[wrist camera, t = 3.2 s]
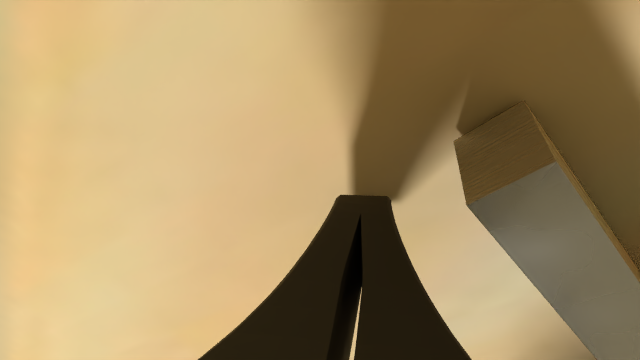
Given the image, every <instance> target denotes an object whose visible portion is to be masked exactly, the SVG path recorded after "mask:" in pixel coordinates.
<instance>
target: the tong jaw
mask: <svg viewBox="0 0 640 360" xmlns="http://www.w3.org/2000/svg"><path fill="white" fill-rule="evenodd" d="M454 145H455V150H456V155H457V160H458V165H459V170H460V175H461V180H462V185H463V190H464V195H465V200H466V205H467V206H468V208H469V209H470V210H471V211H472V212H473V214H474V215H475V216H476V217H477V218H478V219H479V221H480V222H481V223H482V224H483V225H484V227H485V228H486V229H487V230H488V231H489V232H490V234H491V235H492V236H493V237H494V238H495V240H496V241H497V242H498V243H499V244H500V245H501V247H502V248H503V249H504V250H505V251H506V253H507V254H508V255H509V256H510V257H511V259H512V260H513V261H514V262H515V263H516V264H517V266H518V267H519V268H520V269H521V270H522V272H523V273H524V274H525V275H526V276H527V277H528V279H529V280H530V281H531V282H532V283H533V285H534V286H535V287H536V288H537V289H538V290H539V292H540V293H541V294H542V295H543V296H544V298H545V299H546V300H547V301H548V302H549V303H550V305H551V306H552V307H553V308H554V309H555V311H556V312H557V313H558V314H559V315H560V316H561V318H562V319H563V320H564V321H565V322H566V324H567V325H568V326H569V327H570V328H571V329H572V331H573V332H574V333H575V334H576V335H577V337H578V338H579V339H580V340H581V341H582V343H583V344H584V345H585V346H586V347H587V348H588V350H589V351H590V352H591V353H592V354H593V356H594V357H595V358H596V359H597V360H640V272H639V270H638V269H637V267H636V266H635V264H634V263H633V261H632V260H631V258H630V257H629V255H628V254H627V252H626V251H625V249H624V248H623V247H622V245H621V244H620V242H619V241H618V239H617V238H616V236H615V235H614V233H613V232H612V230H611V229H610V227H609V226H608V224H607V223H606V221H605V220H604V218H603V217H602V215H601V214H600V212H599V211H598V209H597V208H596V206H595V205H594V203H593V202H592V200H591V199H590V198H589V196H588V195H587V193H586V192H585V190H584V189H583V187H582V186H581V184H580V183H579V181H578V180H577V178H576V177H575V175H574V174H573V172H572V171H571V169H570V168H569V166H568V165H567V163H566V162H565V160H564V159H563V157H562V156H561V154H560V153H559V152H558V150H557V149H556V147H555V146H554V144H553V143H552V141H551V140H550V138H549V137H548V135H547V134H546V132H545V131H544V129H543V128H542V126H541V125H540V123H539V122H538V120H537V119H536V117H535V116H534V114H533V113H532V111H531V110H530V108H529V107H528V105H527V104H526V103H525V101H524V100H523V101H522V102H520V103H518V104H517V105H515V106H513V107H511V108H510V109H508V110H506V111H505V112H503V113H501V114H499V115H498V116H496V117H494V118H493V119H491V120H489V121H487V122H486V123H484V124H482V125H481V126H479V127H477V128H475V129H474V130H472V131H470V132H469V133H467V134H465V135H463V136H462V137H460V138H458V139H456V140H455V141H454Z"/></svg>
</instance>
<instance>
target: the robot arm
mask: <svg viewBox="0 0 640 360" xmlns="http://www.w3.org/2000/svg"><path fill="white" fill-rule="evenodd" d="M361 288H362V294H361ZM360 294H361V303H360V313H359V322H358V331H357V340H356V348H355V356H354V360H472V359H471V358H470V357H469V355H468V354H467V353H466V351H465V350H464V349H463V347H462V346H461V345H460V343H459V342H458V341H457V339H456V338H455V337H454V335H453V334H452V332H451V331H450V329H449V328H448V326H447V325H446V323H445V322H444V320H443V319H442V317H441V316H440V314H439V312H438V311H437V309H436V308H435V306H434V304H433V303H432V301H431V299H430V298H429V296H428V294H427V292H426V291H425V289H424V287H423V285H422V283H421V281H420V279H419V277H418V275H417V273H416V271H415V269H414V267H413V265H412V263H411V261H410V259H409V257H408V254H407V252H406V249H405V247H404V245H403V242H402V240H401V237H400V235H399V232H398V229H397V226H396V223H395V219H394V215H393V211H392V206H391V200H390V199H389V198H388V197H387V196H360V195H340V196H339V197H337V198H336V200H335V203H334V205H333V207H332V209H331V211H330V213H329V214H328V216H327V218H326V220H325V221H324V223H323V225H322V226H321V228H320V230H319V231H318V233H317V234H316V236H315V237H314V239H313V240H312V242H311V243H310V245H309V246H308V248H307V249H306V251H305V252H304V253H303V255H302V256H301V257H300V259H299V260H298V261H297V262H296V264H295V265H294V266H293V268H292V269H291V270H290V272H289V273H288V274H287V275H286V276H285V278H284V279H283V280H282V281H281V282H280V284H279V285H278V286H277V287H276V288H275V289H274V290H273V291H272V293H271V294H270V295H269V296H268V297H267V298H266V299H265V300H264V301H263V302H262V303H261V304H260V305H259V306H258V307H257V308H256V309H255V310H254V311H253V312H252V313H251V314H250V315H249V316H248V317H247V318H246V319H245V320H244V321H243V322H242V323H241V324H240V325H239V326H237V327H236V328H235V329H234V330H233V331H232V332H231V333H229V334H228V335H227V336H226V337H225V338H223V339H222V340H221V341H220V342H219V343H217V344H216V345H215V346H214V347H213V348H212V349H210V350H209V351H208V352H207V353H206V354H204V355H203V356H202V357H201V358H199V359H198V360H349V357H350V351H351V346H352V340H353V334H354V328H355V323H356V317H357V311H358V305H359V300H360Z"/></svg>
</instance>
